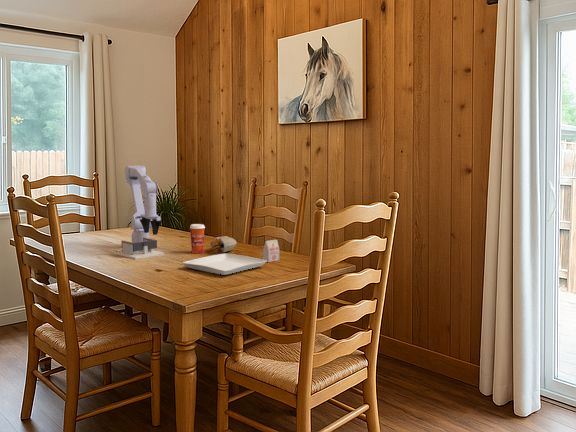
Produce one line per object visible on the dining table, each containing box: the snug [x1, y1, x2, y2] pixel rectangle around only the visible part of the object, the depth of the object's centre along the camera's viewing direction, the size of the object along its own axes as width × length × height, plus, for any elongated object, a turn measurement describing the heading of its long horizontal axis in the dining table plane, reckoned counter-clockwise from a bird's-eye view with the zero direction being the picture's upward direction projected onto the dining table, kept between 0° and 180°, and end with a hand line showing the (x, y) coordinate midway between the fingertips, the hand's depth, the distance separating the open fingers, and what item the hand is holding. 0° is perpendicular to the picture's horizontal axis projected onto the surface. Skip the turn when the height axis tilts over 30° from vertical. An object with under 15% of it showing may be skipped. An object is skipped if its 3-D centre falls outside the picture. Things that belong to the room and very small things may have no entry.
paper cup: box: [189, 223, 206, 255], centre depth 293 cm, size 8×8×14 cm
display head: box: [116, 240, 165, 260], centre depth 286 cm, size 16×16×6 cm
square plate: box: [181, 252, 267, 276], centre depth 258 cm, size 27×27×4 cm
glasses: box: [120, 237, 158, 252], centre depth 287 cm, size 12×13×4 cm
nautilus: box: [206, 235, 238, 255], centre depth 295 cm, size 8×22×15 cm
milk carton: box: [262, 239, 280, 263], centre depth 273 cm, size 4×7×10 cm, turn 131°
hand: (150, 233), depth 292 cm, fingers open, 7 cm apart
